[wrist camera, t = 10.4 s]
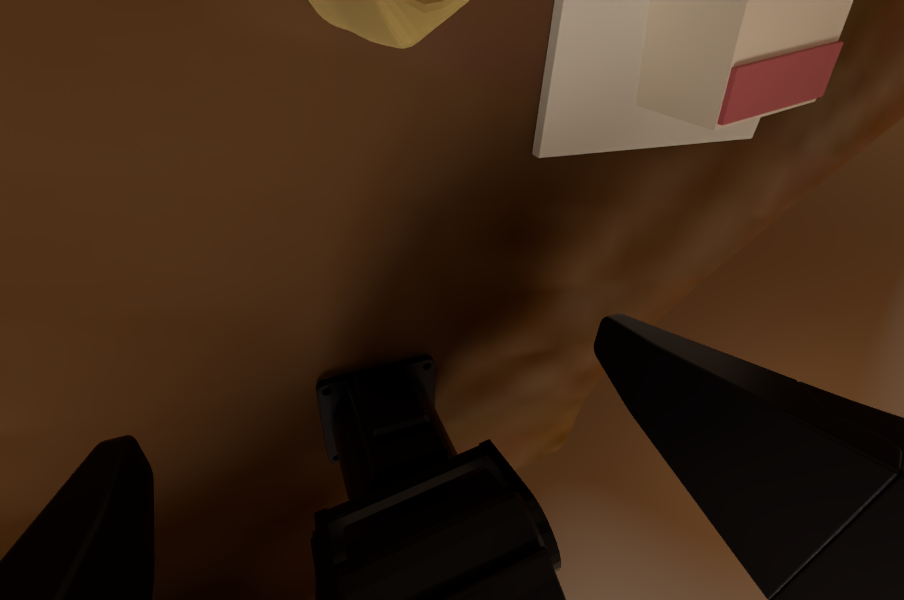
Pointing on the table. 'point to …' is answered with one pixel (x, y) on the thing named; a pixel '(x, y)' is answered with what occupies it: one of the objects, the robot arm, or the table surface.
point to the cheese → (388, 18)
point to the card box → (737, 57)
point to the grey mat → (605, 86)
